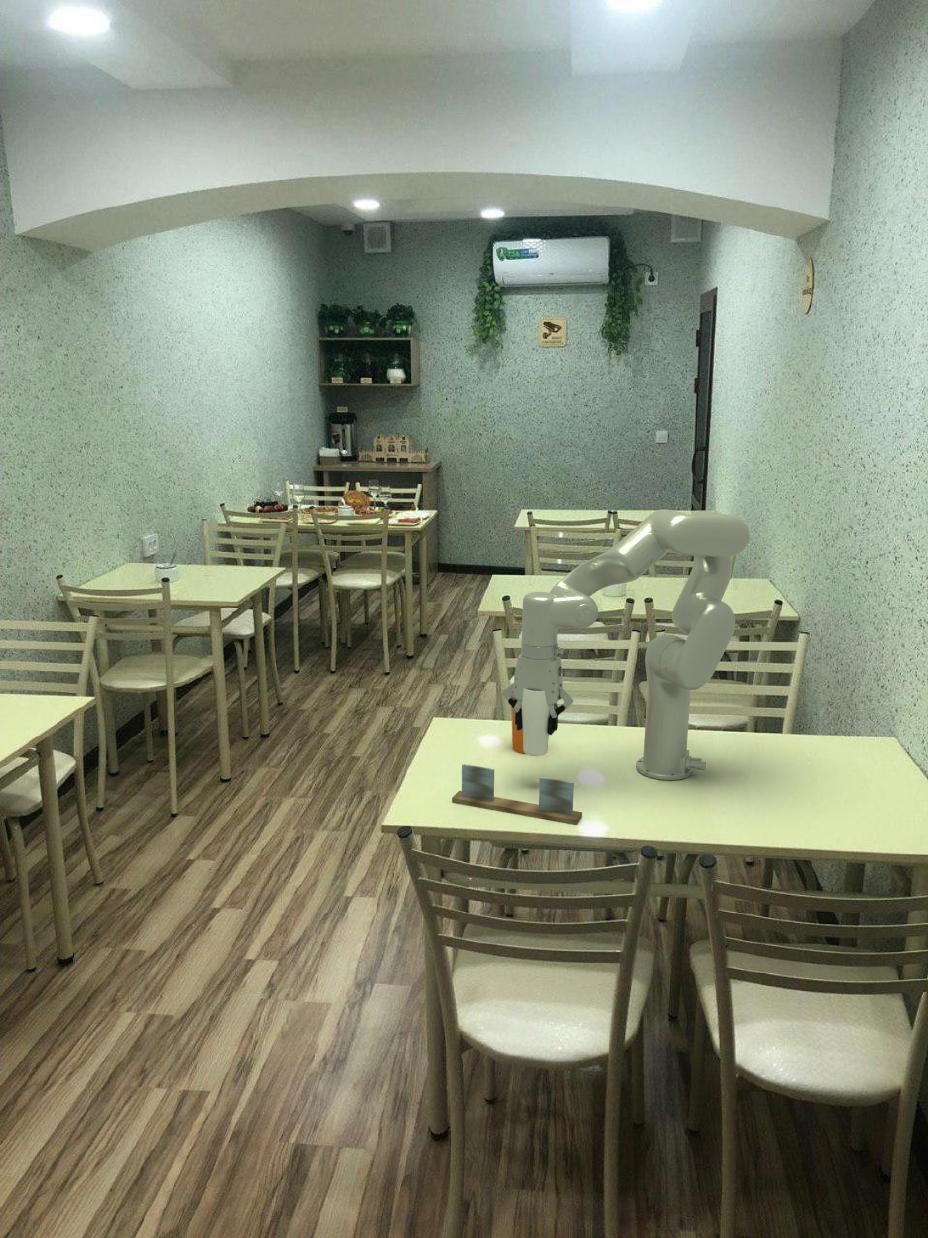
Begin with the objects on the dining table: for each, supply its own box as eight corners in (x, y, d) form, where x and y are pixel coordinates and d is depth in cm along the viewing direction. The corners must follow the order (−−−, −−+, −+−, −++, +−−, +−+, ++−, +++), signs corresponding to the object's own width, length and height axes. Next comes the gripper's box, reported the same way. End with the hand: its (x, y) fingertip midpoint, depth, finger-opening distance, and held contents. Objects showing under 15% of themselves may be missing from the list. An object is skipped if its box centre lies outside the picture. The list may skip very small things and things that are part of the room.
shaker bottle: (506, 742, 231) (507, 664, 226) (541, 741, 232) (543, 663, 227) (511, 756, 222) (513, 675, 217) (548, 755, 223) (551, 674, 218)
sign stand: (581, 816, 191) (583, 780, 189) (576, 825, 187) (578, 787, 186) (459, 795, 201) (459, 760, 199) (452, 802, 197) (452, 766, 195)
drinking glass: (549, 759, 200) (551, 692, 197) (517, 756, 201) (519, 690, 198) (552, 748, 207) (555, 683, 203) (522, 745, 208) (524, 680, 204)
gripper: (583, 651, 199) (579, 731, 203) (506, 642, 205) (504, 719, 209) (573, 660, 192) (570, 742, 196) (494, 650, 198) (492, 730, 203)
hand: (536, 730), depth 203 cm, fingers closed on drinking glass, 6 cm apart
